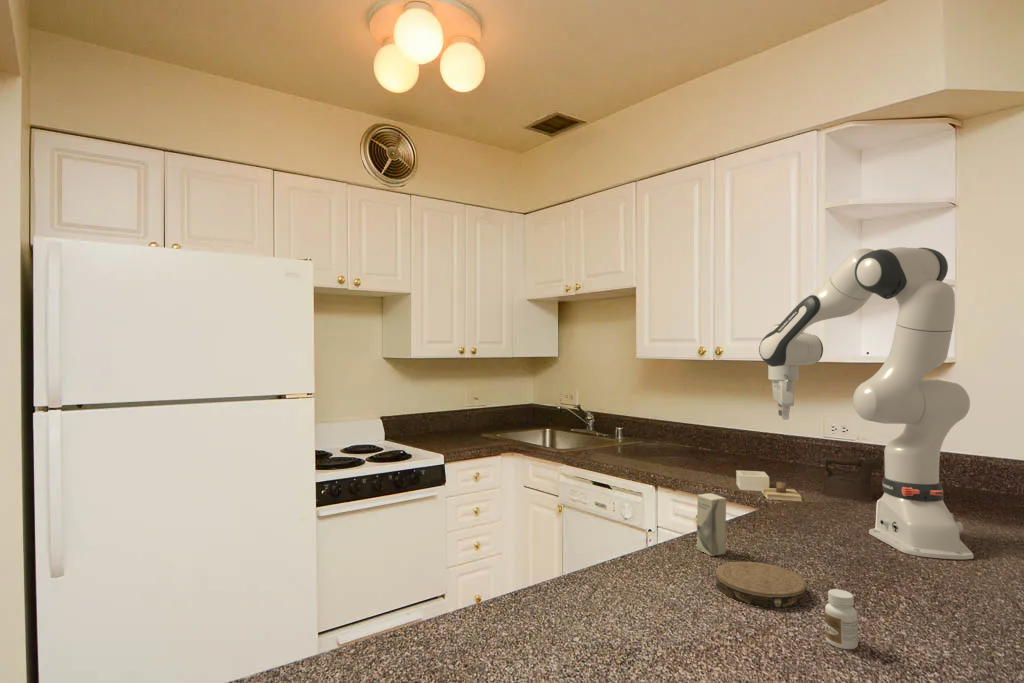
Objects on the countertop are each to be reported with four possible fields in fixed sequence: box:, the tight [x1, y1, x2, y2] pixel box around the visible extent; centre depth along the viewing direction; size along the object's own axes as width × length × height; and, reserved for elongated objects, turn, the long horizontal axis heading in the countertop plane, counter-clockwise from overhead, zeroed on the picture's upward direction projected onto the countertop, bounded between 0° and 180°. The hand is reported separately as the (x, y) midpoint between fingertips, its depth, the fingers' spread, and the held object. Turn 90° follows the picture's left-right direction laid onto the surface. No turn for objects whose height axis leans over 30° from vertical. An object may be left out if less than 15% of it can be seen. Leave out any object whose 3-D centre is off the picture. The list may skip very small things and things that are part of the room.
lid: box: [761, 481, 803, 502], centre depth 179 cm, size 10×10×4 cm
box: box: [696, 492, 727, 557], centre depth 130 cm, size 5×4×13 cm
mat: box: [761, 491, 801, 502], centre depth 179 cm, size 10×10×1 cm
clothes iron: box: [823, 455, 884, 501], centre depth 179 cm, size 8×16×13 cm, turn 51°
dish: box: [735, 469, 770, 492], centre depth 191 cm, size 9×9×5 cm
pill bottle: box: [824, 588, 859, 650], centre depth 89 cm, size 4×4×8 cm
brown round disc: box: [715, 561, 807, 610], centre depth 109 cm, size 16×16×3 cm
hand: (783, 417), depth 181 cm, fingers open, 8 cm apart
